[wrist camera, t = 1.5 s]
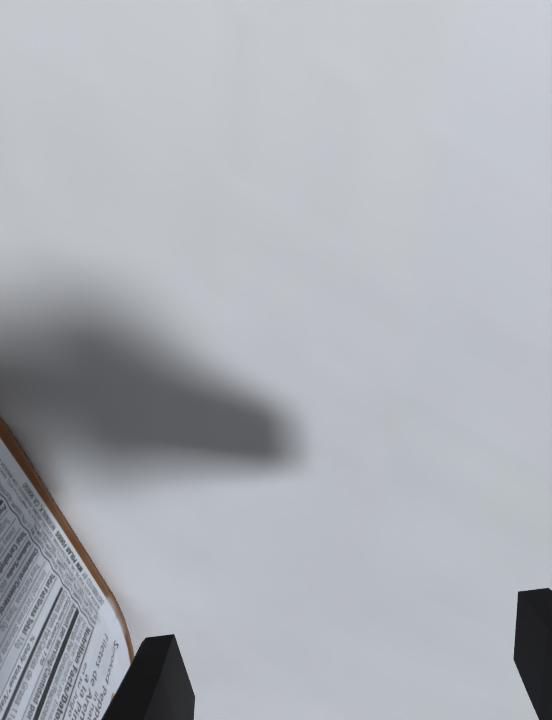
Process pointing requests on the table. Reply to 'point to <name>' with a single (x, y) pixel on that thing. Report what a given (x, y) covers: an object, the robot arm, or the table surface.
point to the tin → (51, 607)
